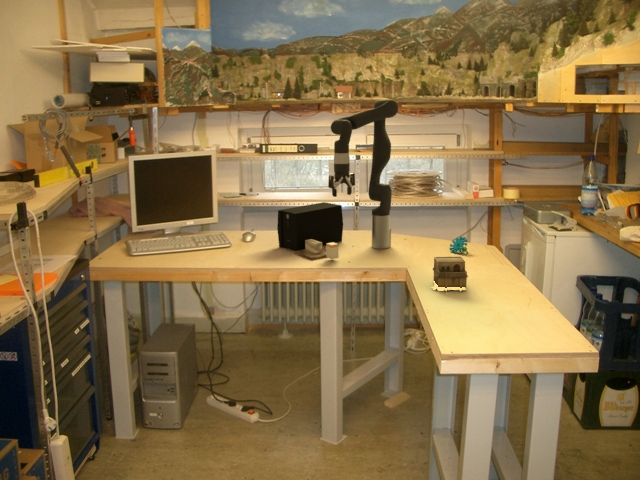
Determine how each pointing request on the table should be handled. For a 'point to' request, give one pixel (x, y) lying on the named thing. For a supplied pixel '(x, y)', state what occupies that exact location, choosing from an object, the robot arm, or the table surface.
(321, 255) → the ticket board
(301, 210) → the uninterruptible power supply
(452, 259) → the miniature house
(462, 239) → the teal spiky round piece
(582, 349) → the table surface
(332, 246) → the orange-striped cream block
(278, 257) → the table surface
